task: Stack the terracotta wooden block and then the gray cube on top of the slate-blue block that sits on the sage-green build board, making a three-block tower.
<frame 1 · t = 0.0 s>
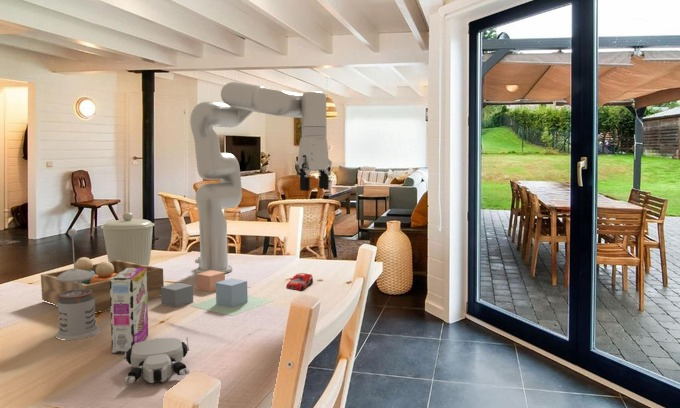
hand: (314, 189, 158), 31 cm above the table, tool pointing down, fingers open, 9 cm apart
robot toy: (157, 373, 101), on the table
canister: (130, 270, 189), on the table
french press: (78, 332, 124), on the table
candy bar box: (131, 345, 115), on the table
brick A: (211, 292, 158), on the table
build board: (232, 307, 142), on the table
gray cube: (177, 307, 143), on the table
wooden tray: (104, 298, 152), on the table
wooden peg doll toy: (105, 299, 152), resting in wooden tray
race car: (300, 287, 165), on the table
base brick: (232, 303, 142), point 1 cm above the table, touching build board
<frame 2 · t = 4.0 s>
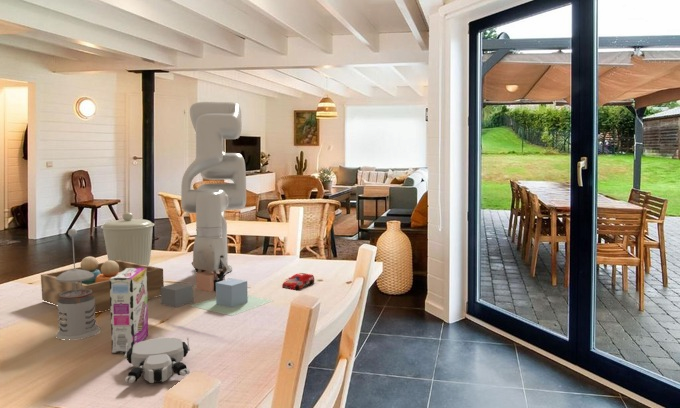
hand: (211, 289, 158), 1 cm above the table, tool pointing down, fingers closed on brick A, 6 cm apart
brick A: (211, 292, 158), on the table, touching gripper
wooden peg doll toy: (110, 298, 153), resting in wooden tray
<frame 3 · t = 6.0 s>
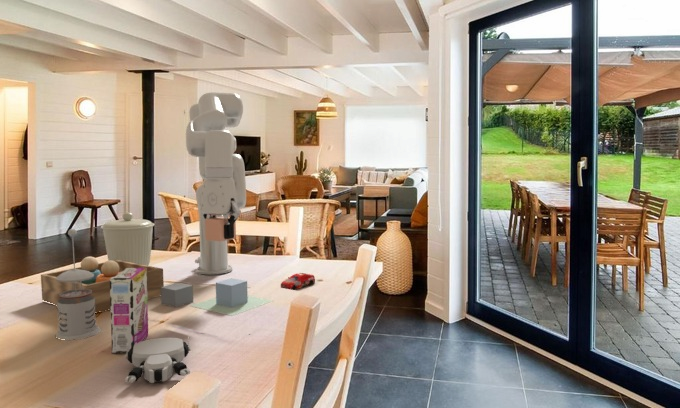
hand: (220, 237, 147), 19 cm above the table, tool pointing down, fingers closed on brick A, 6 cm apart
brick A: (220, 239, 147), point 18 cm above the table, touching gripper
when the fingers open (9 cm above the table, at t = 8.4 s): brick A drops 1 cm, resting on base brick.
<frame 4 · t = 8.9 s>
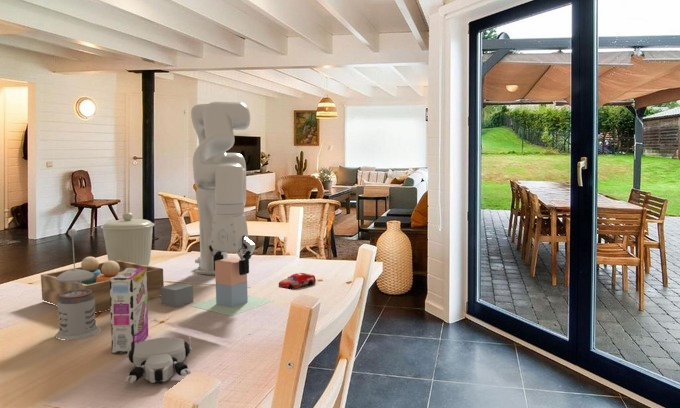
hand: (231, 271, 141), 10 cm above the table, tool pointing down, fingers open, 9 cm apart
brick A: (231, 281, 142), point 7 cm above the table, touching base brick
base brick: (232, 303, 142), point 1 cm above the table, touching brick A, build board
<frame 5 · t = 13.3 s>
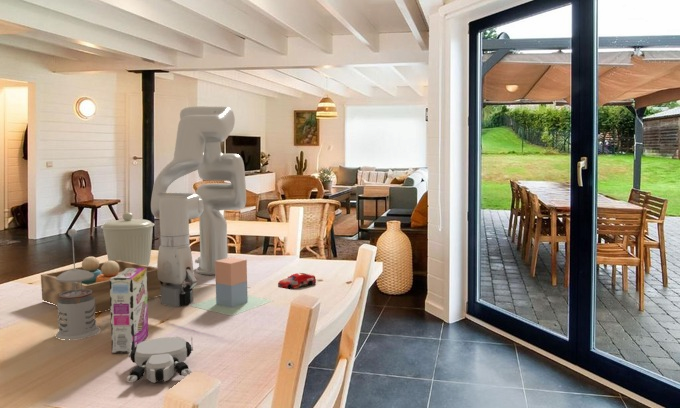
hand: (177, 304, 143), 1 cm above the table, tool pointing down, fingers closed on gray cube, 6 cm apart
gray cube: (177, 307, 143), on the table, touching gripper
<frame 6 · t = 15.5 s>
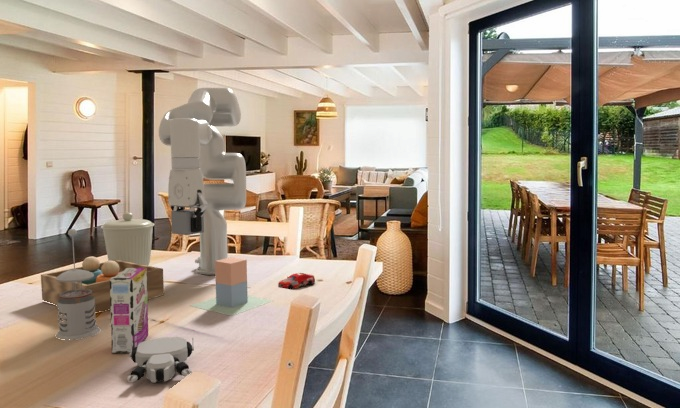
hand: (188, 230, 141), 22 cm above the table, tool pointing down, fingers closed on gray cube, 6 cm apart
gray cube: (188, 232, 141), point 21 cm above the table, touching gripper
when the fingers open (15 cm above the table, at t = 17.6 s): gray cube drops 1 cm, resting on brick A.
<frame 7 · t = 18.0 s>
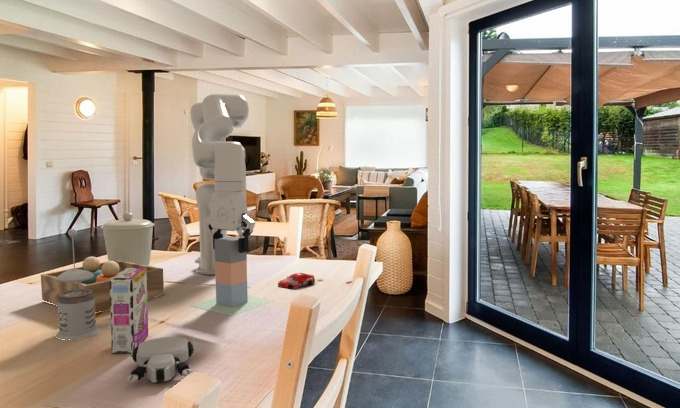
hand: (230, 250, 141), 16 cm above the table, tool pointing down, fingers open, 9 cm apart
brick A: (231, 281, 142), point 7 cm above the table, touching base brick, gray cube
gray cube: (230, 260, 141), point 13 cm above the table, touching brick A
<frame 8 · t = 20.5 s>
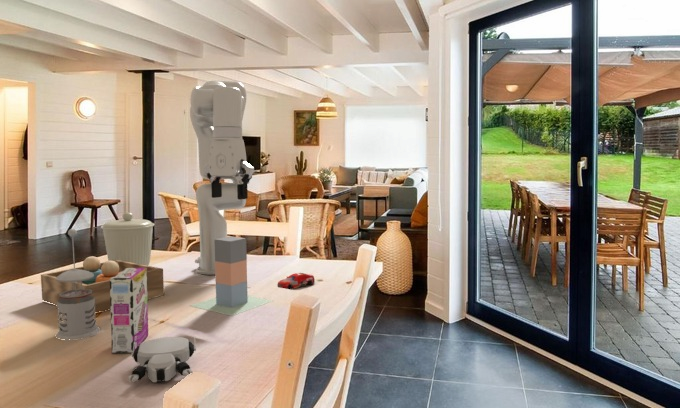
hand: (229, 198, 139), 30 cm above the table, tool pointing down, fingers open, 9 cm apart
at the end: brick A 0.1 cm off-centre on the base brick, point 6.0 cm above the base brick's base; gray cube 0.0 cm off-centre on the base brick, point 12.0 cm above the base brick's base; gray cube tilted 0° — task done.
